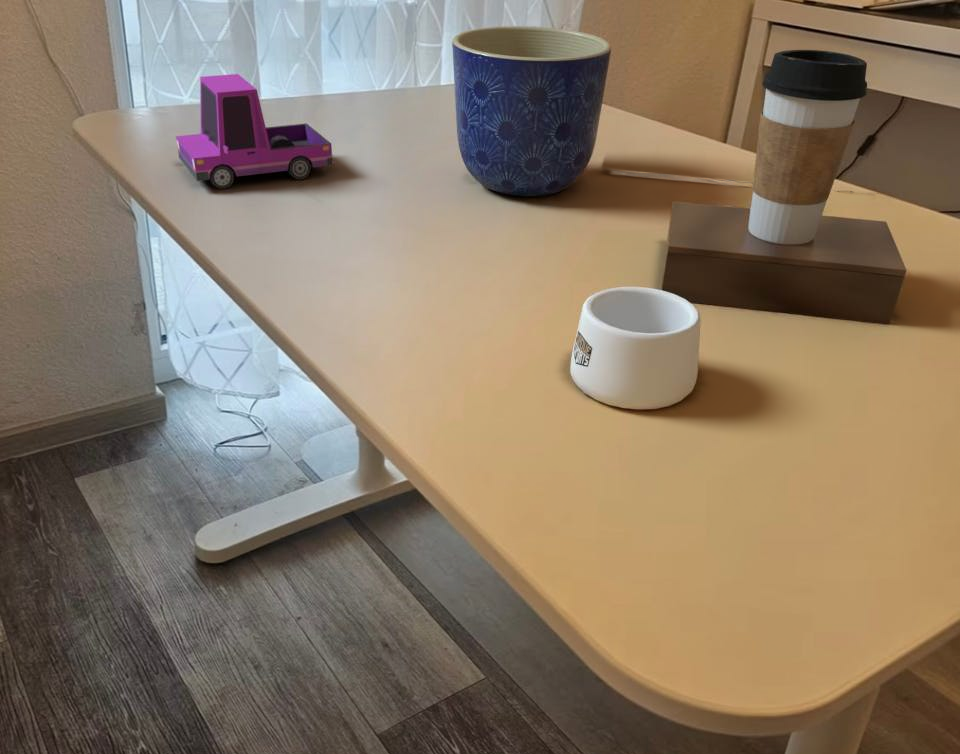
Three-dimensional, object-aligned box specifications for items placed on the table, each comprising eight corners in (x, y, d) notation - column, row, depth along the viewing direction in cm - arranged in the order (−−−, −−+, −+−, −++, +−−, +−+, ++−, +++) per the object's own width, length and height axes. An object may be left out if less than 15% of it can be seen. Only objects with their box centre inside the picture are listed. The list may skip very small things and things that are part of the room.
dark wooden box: (871, 271, 93) (886, 221, 90) (889, 324, 83) (907, 270, 80) (665, 250, 95) (672, 201, 92) (660, 299, 86) (668, 245, 83)
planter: (621, 202, 106) (639, 54, 97) (478, 216, 102) (483, 62, 92) (562, 157, 119) (572, 23, 110) (432, 167, 114) (432, 28, 105)
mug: (716, 406, 71) (731, 332, 67) (595, 420, 69) (604, 345, 65) (651, 334, 80) (662, 266, 76) (543, 345, 78) (548, 276, 74)
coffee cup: (726, 240, 84) (760, 57, 75) (742, 211, 91) (776, 38, 82) (823, 257, 82) (871, 69, 73) (833, 225, 88) (879, 49, 79)
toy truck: (179, 167, 112) (164, 75, 106) (306, 153, 117) (299, 65, 111) (201, 195, 104) (187, 99, 98) (336, 179, 110) (330, 87, 104)
